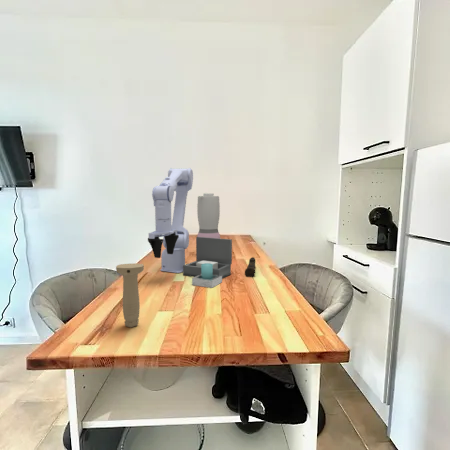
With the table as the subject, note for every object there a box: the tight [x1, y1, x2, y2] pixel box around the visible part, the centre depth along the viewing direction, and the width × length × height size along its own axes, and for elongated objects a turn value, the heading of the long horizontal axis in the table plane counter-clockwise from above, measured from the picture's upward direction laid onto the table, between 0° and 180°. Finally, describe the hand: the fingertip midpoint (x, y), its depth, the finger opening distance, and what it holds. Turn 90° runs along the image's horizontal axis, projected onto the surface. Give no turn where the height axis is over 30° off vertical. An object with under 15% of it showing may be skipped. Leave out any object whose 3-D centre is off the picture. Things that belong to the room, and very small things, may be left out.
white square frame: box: [191, 274, 223, 289], centre depth 115 cm, size 8×8×2 cm
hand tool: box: [244, 256, 256, 278], centre depth 134 cm, size 19×4×5 cm, turn 169°
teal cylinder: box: [201, 263, 213, 280], centre depth 115 cm, size 4×4×7 cm
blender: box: [196, 192, 221, 239], centre depth 166 cm, size 16×12×32 cm
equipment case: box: [182, 236, 233, 280], centre depth 127 cm, size 16×11×14 cm
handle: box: [115, 262, 145, 328], centre depth 79 cm, size 5×6×15 cm
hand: (164, 255), depth 118 cm, fingers open, 7 cm apart
